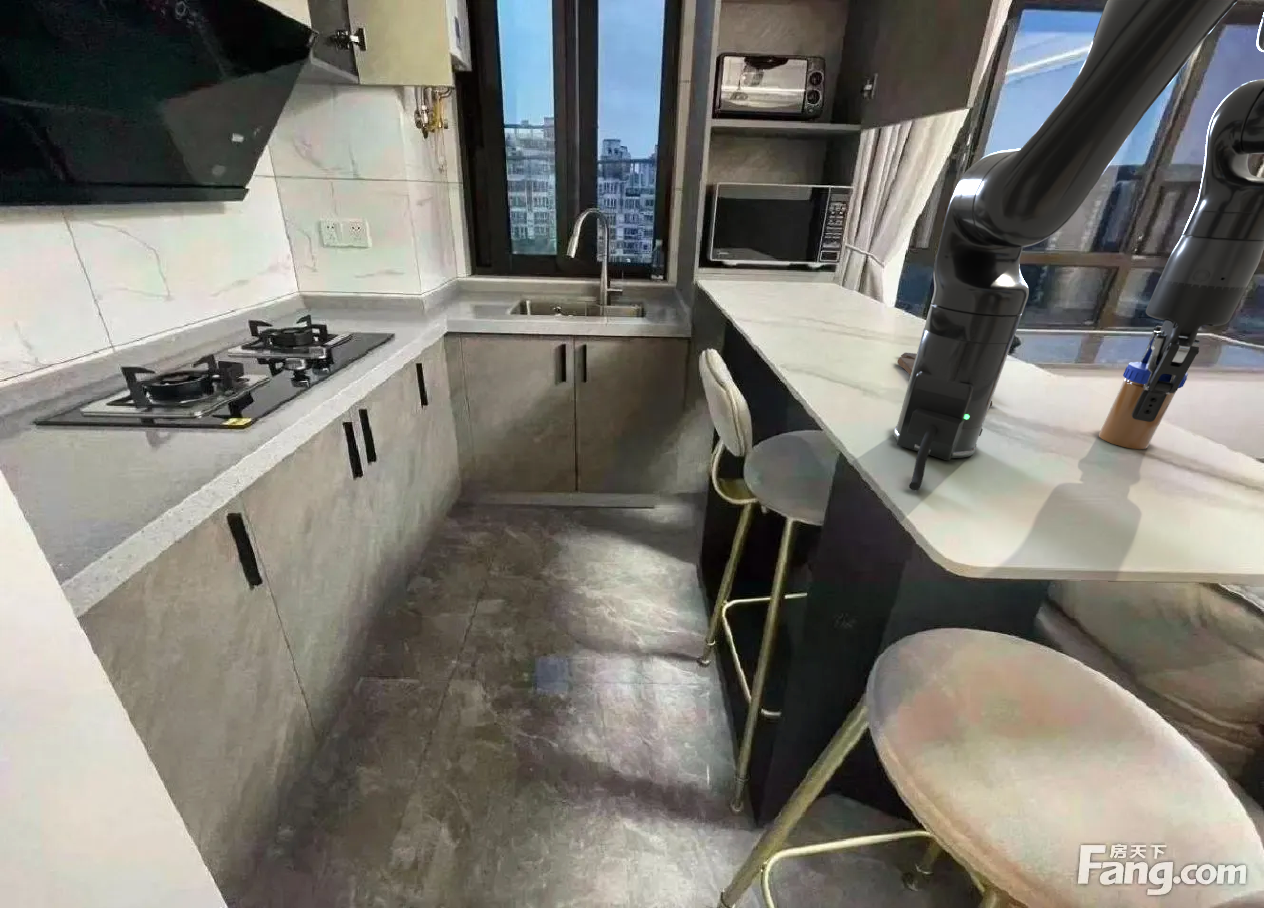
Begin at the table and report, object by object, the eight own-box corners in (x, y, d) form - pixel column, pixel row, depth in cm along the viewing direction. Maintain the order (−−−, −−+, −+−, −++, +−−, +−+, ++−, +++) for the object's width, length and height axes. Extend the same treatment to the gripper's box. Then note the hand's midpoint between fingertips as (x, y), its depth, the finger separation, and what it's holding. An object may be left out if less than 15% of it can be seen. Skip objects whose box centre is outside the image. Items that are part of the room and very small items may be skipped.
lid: (1117, 371, 73) (1123, 359, 72) (1173, 379, 70) (1179, 366, 70) (1129, 383, 68) (1135, 370, 67) (1189, 392, 66) (1196, 378, 65)
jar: (1146, 452, 70) (1182, 383, 66) (1096, 440, 73) (1127, 373, 69) (1148, 441, 73) (1182, 374, 69) (1100, 429, 76) (1130, 365, 72)
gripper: (1265, 290, 56) (1186, 438, 64) (1233, 276, 67) (1168, 404, 74) (1169, 282, 60) (1106, 422, 68) (1153, 270, 71) (1100, 392, 78)
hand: (1139, 412), depth 71 cm, fingers closed on jar, lid, 5 cm apart
